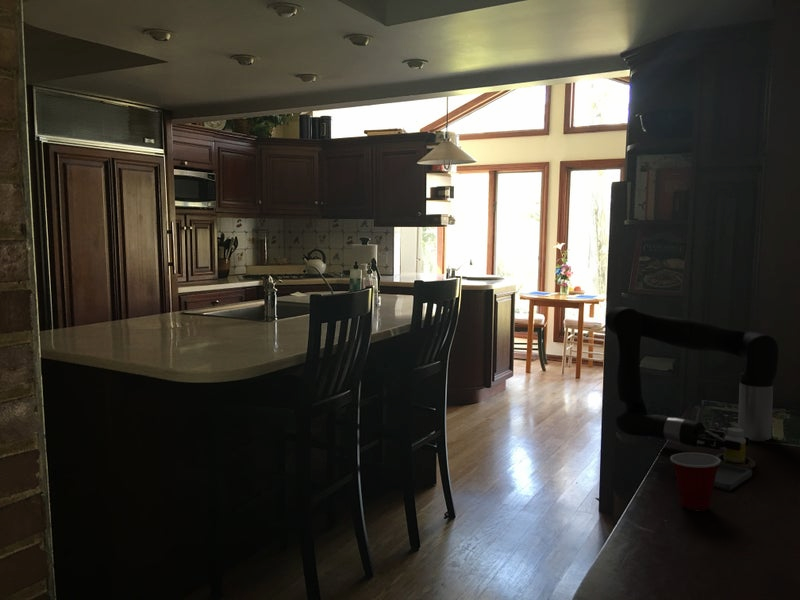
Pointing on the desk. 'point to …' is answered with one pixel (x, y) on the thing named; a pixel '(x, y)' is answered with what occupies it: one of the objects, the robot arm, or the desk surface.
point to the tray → (730, 476)
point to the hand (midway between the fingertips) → (744, 444)
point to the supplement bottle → (735, 455)
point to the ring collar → (748, 466)
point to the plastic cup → (695, 478)
